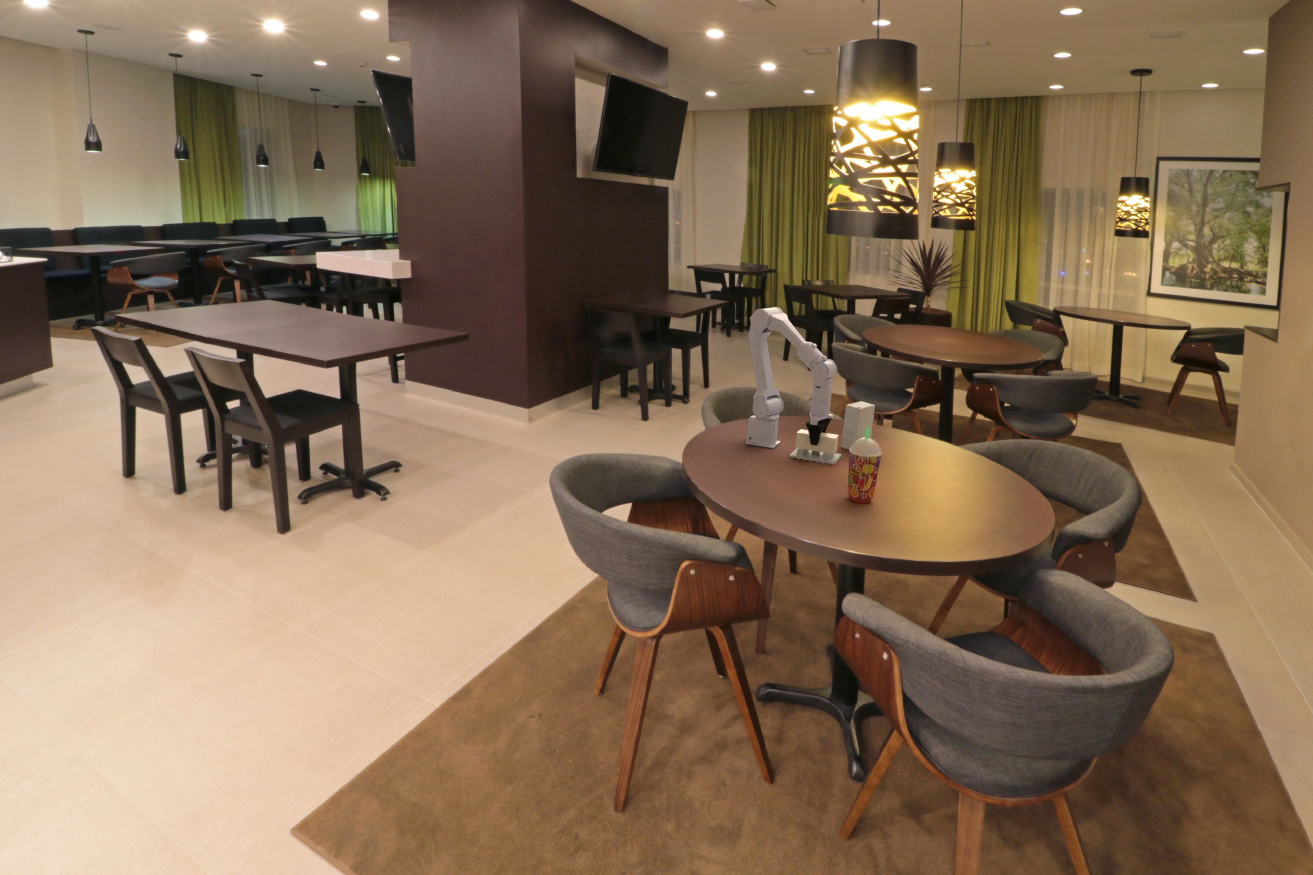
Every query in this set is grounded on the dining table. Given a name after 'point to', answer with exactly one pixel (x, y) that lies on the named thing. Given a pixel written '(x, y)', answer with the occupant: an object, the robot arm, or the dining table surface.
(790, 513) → the dining table surface
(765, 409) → the robot arm
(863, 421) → the skincare box
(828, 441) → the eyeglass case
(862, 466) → the smoothie
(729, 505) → the dining table surface
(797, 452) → the display stand
